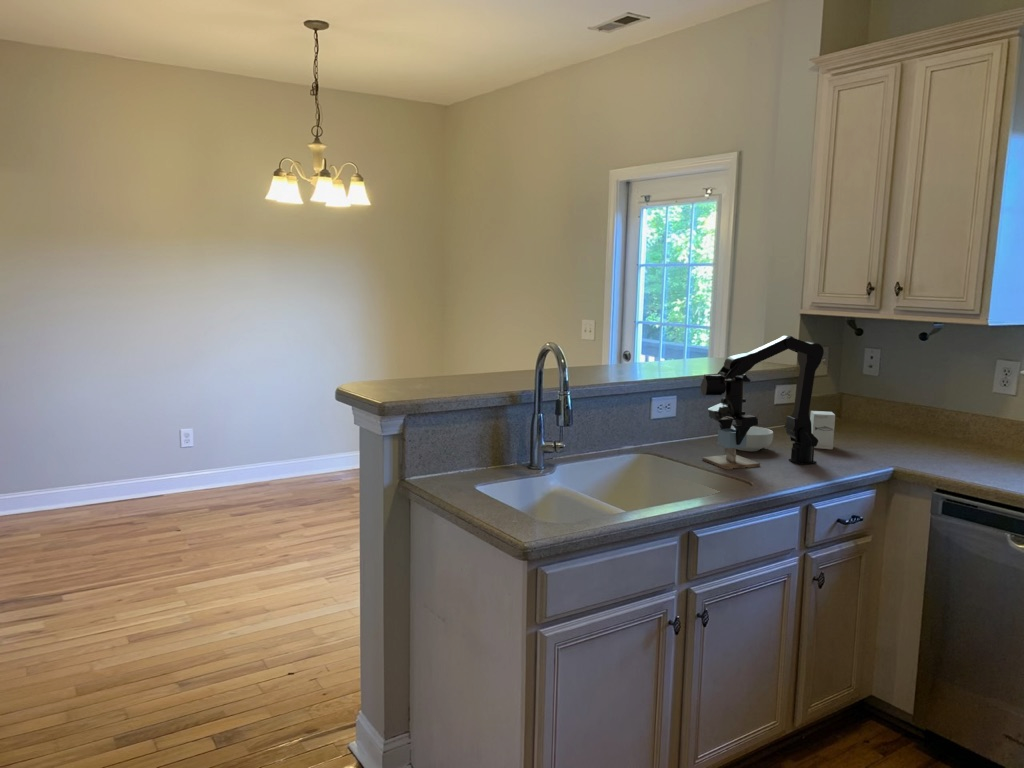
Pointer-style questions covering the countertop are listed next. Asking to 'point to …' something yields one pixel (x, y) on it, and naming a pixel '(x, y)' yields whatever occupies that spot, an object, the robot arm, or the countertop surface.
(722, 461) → the wooden peg base
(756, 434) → the cereal bowl
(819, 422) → the supplement box
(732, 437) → the blue-grey square socket block
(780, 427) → the countertop surface
